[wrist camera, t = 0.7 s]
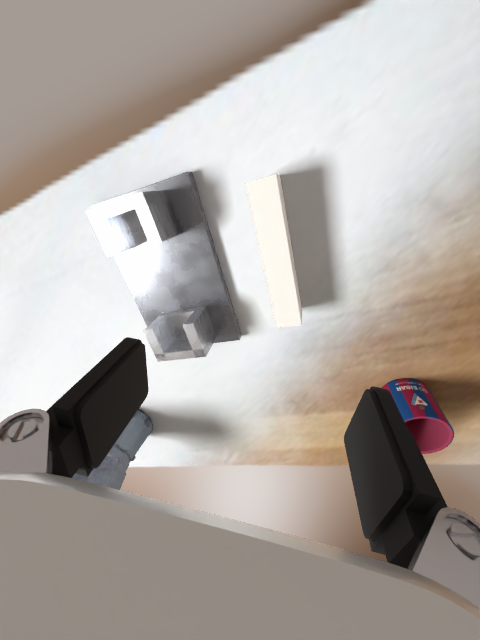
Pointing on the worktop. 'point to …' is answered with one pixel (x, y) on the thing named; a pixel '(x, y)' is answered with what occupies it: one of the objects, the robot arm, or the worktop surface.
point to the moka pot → (120, 454)
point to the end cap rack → (169, 266)
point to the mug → (421, 414)
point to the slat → (275, 249)
